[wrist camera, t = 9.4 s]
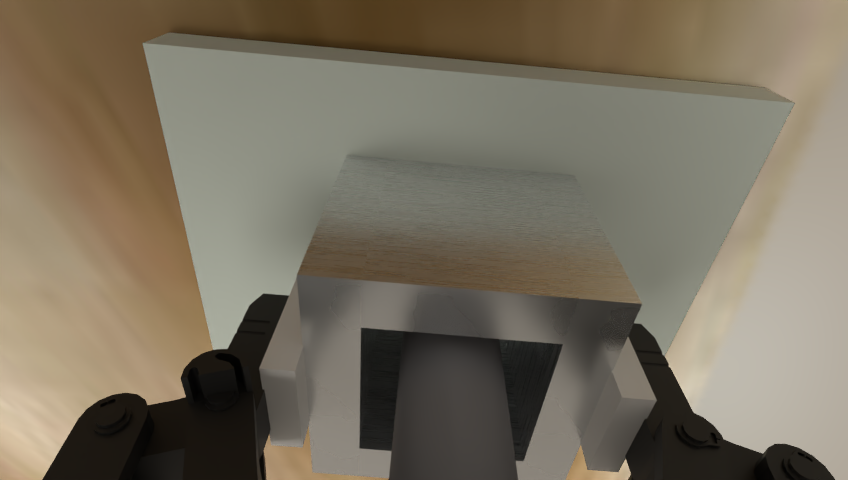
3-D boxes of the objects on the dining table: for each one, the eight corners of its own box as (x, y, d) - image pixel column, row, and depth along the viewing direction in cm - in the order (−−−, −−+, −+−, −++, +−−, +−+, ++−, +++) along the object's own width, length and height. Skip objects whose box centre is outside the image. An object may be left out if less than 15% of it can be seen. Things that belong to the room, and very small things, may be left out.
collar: (346, 154, 15) (296, 274, 10) (574, 175, 15) (642, 304, 10) (347, 323, 18) (312, 472, 13) (528, 338, 19) (560, 491, 14)
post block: (168, 32, 14) (-428, 269, 4) (764, 87, 15) (1417, 421, 5) (227, 327, 21) (39, 681, 11) (636, 360, 21) (800, 732, 11)
